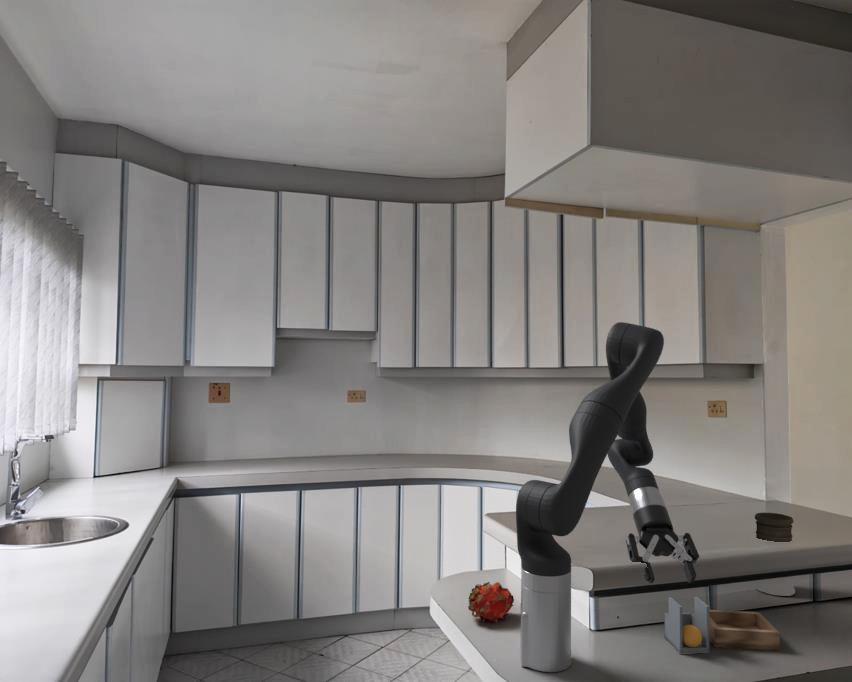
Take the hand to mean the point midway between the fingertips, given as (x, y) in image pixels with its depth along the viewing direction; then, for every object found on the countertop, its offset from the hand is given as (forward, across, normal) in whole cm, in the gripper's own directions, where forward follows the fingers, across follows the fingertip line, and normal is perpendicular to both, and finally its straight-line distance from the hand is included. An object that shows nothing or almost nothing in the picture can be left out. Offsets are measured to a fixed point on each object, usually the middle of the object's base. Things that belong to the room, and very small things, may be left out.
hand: (672, 581), depth 134 cm
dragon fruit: (+1, -36, +14) cm, 39 cm away
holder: (+12, 0, +3) cm, 12 cm away
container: (-8, +36, +23) cm, 43 cm away
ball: (+11, 0, 0) cm, 11 cm away
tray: (+10, +12, +5) cm, 16 cm away
